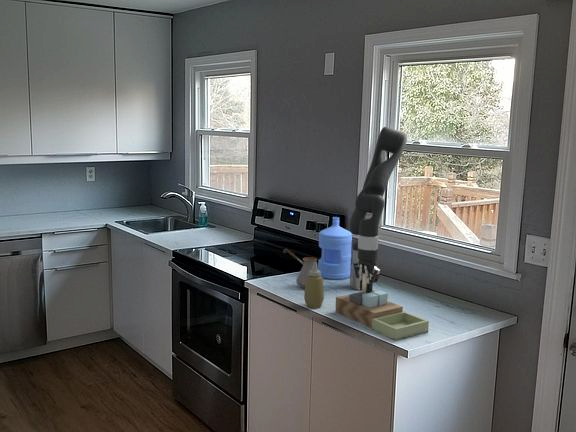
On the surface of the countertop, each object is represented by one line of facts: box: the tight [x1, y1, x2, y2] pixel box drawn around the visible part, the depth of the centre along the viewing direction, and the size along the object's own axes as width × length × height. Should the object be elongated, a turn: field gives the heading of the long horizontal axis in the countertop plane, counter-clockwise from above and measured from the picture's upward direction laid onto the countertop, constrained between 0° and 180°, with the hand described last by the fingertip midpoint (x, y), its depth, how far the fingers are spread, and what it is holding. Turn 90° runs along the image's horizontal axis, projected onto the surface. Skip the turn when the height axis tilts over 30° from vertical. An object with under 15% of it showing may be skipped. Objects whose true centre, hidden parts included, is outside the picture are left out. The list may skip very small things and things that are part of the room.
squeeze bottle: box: [303, 261, 325, 309], centre depth 237 cm, size 8×8×18 cm
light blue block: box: [373, 290, 389, 305], centre depth 225 cm, size 4×4×4 cm
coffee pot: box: [282, 248, 318, 290], centre depth 267 cm, size 21×12×15 cm, turn 46°
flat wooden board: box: [334, 293, 404, 329], centre depth 227 cm, size 22×14×6 cm, turn 34°
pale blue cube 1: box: [362, 293, 378, 308], centre depth 222 cm, size 4×4×4 cm
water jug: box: [317, 216, 353, 280], centre depth 283 cm, size 16×16×28 cm
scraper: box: [348, 273, 376, 305], centre depth 227 cm, size 6×11×10 cm, turn 125°
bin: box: [371, 311, 430, 341], centre depth 213 cm, size 12×16×4 cm
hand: (365, 291), depth 227 cm, fingers closed on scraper, 3 cm apart
